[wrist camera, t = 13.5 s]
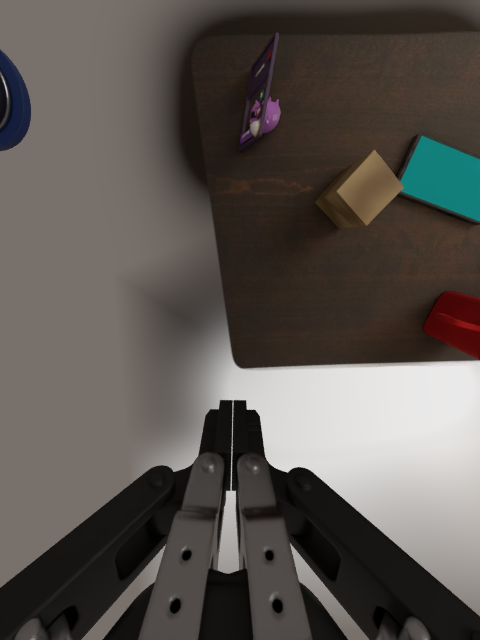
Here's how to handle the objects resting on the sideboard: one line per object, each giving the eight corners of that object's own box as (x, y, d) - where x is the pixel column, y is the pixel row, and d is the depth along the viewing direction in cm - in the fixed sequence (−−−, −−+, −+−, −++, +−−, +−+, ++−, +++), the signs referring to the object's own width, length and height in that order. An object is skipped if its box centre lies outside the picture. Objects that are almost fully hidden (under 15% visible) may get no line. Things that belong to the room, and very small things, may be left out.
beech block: (314, 202, 35) (336, 191, 27) (343, 169, 34) (374, 149, 26) (339, 229, 36) (366, 225, 28) (368, 198, 35) (404, 187, 27)
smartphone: (419, 131, 31) (514, 171, 33) (415, 134, 32) (508, 172, 34) (392, 191, 34) (482, 225, 35) (388, 192, 34) (477, 226, 36)
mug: (486, 299, 40) (570, 320, 30) (459, 343, 42) (528, 376, 32) (421, 281, 39) (487, 295, 29) (398, 327, 41) (450, 355, 31)
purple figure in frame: (269, 26, 24) (252, 133, 26) (312, 51, 26) (292, 148, 28) (245, 65, 29) (233, 149, 32) (281, 83, 31) (267, 161, 34)
